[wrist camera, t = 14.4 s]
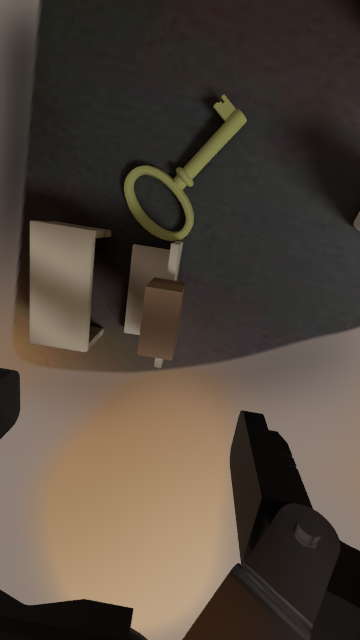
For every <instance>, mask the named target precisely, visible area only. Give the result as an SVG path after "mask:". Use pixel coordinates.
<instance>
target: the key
mask: <svg viewBox="0 0 360 640" xmlns="http://www.w3.org/2000/svg"><path fill="white" fill-rule="evenodd" d="M221 99H222V100H223V102H224V103H223V104H222V102H221V101H220V102H219V103H218V102H217V103H216V104H215V105H214V106H213V107H214V109H215V110H216V111H217V113H218V114H219V115H220V116H221V118H222V119H223V120H224V121H225V123H224V124H223V125H222V126H221V127H220V128H219V129H218V130H217V131H216V133H215V134H214V135H213V136H212V137H211V138H210V139H209V140H208V141H207V142H206V144H205V145H204V146H203V147H202V148H201V149H200V150H199V151H198V152H197V153H196V155H195V156H194V157H193V158H192V159H191V160H190V161H189V162H188V163H187V164H186V166H185V167H184V168H181V167H178V168H177V169H176V173H177V175H176V177H175V178H174V179H172V178H171V177H170V176H169V175H168V174H166V173H165V172H164V171H162V170H160V169H159V168H156V167H152V166H149V165H145V166H139V167H137V168H135V169H133V170H132V171H131V172H130V173H129V174H128V176H127V177H126V180H125V183H124V192H125V197H126V201H127V204H128V206H129V209H130V211H131V213H132V214H133V216H134V217H135V218H136V220H137V221H138V222H139V223H140V224H141V225H142V226H143V227H144V228H145V229H146V230H147V231H148V232H149V233H151V234H152V235H154V236H156V237H158V238H160V239H163V240H166V241H178V240H180V239H183V238H184V237H185V236H186V235H187V234H188V233H189V232H190V230H191V228H192V226H193V222H194V214H193V210H192V206H191V203H190V201H189V199H188V197H187V196H186V194H185V193H184V191H183V189H184V188H185V187H186V185H187V186H189V187H191V186H193V180H192V179H193V178H194V177H195V176H196V175H197V174H198V173H199V172H200V171H201V169H202V168H203V167H204V166H205V165H206V164H207V163H208V162H209V161H210V160H211V159H212V158H213V157H214V156H215V155H216V153H217V152H218V151H219V150H220V149H221V148H222V147H223V146H224V145H225V144H226V143H227V142H228V141H229V140H230V139H231V138H232V136H233V135H234V134H235V133H236V132H237V131H238V130H239V129H240V128H241V127H242V126H243V125H244V124H245V123H246V122H247V120H246V118H245V116H244V115H243V113H242V112H241V111H240V110H239V109H237V110H236V109H235V107H234V106H233V105H232V104H231V102H230V101H229V100H228V99H227V97H226V96H225V95H223V96H222V97H221ZM141 175H150V176H153V177H155V178H157V179H159V180H160V181H162V182H163V183H164V184H165V185H166V186H167V187H168V188H169V189H170V190H171V191H172V192H173V193H174V194H175V196H176V197H177V198H178V200H179V201H180V203H181V205H182V207H183V209H184V212H185V216H186V222H185V225H184V227H183V228H182V229H181V230H180V231H177V232H171V231H168V230H166V229H164V228H162V227H160V226H158V225H157V224H156V223H154V222H153V221H152V220H151V219H150V218H149V217H148V216H147V215H146V214H145V213H144V211H143V210H142V208H141V207H140V205H139V203H138V201H137V199H136V196H135V193H134V182H135V180H136V179H137V178H138V177H139V176H141Z"/></svg>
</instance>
